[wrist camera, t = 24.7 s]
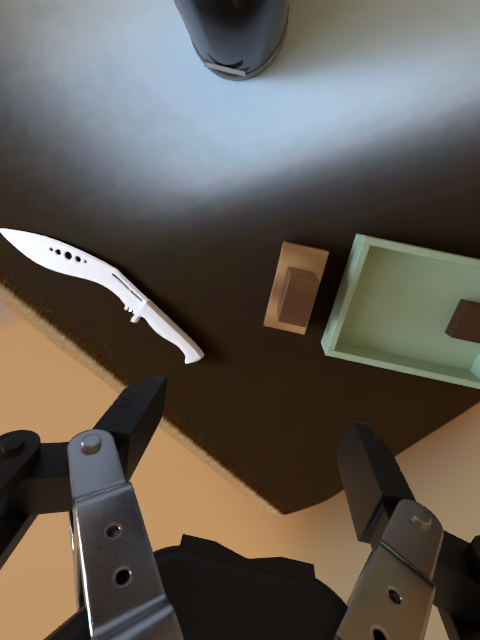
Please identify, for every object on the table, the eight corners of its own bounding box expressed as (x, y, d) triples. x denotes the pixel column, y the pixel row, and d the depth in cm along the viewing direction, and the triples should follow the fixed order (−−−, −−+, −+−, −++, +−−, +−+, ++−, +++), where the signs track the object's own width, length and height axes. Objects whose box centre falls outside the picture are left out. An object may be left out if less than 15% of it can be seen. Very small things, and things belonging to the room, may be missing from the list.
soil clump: (460, 298, 35) (468, 302, 34) (497, 306, 35) (507, 310, 34) (444, 332, 37) (451, 337, 35) (479, 340, 37) (488, 345, 35)
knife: (-10, 230, 38) (19, 181, 35) (1, 229, 39) (30, 182, 37) (168, 389, 42) (205, 356, 40) (172, 383, 44) (207, 351, 41)
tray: (356, 233, 35) (365, 235, 31) (527, 269, 34) (555, 275, 31) (320, 342, 40) (325, 355, 36) (469, 375, 39) (488, 390, 36)
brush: (283, 239, 36) (286, 247, 29) (324, 248, 35) (338, 258, 28) (264, 317, 39) (262, 341, 32) (302, 325, 39) (308, 351, 32)
